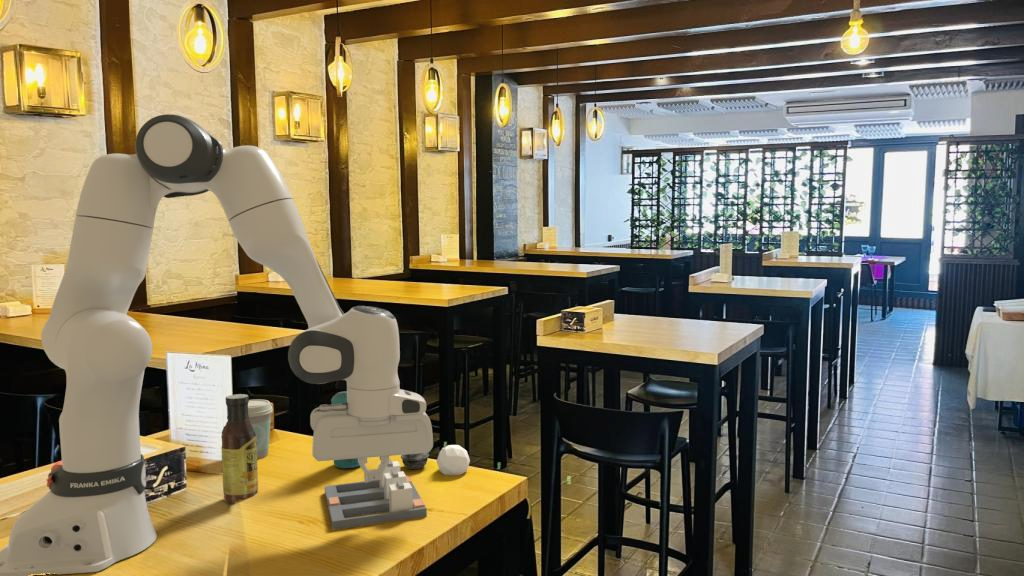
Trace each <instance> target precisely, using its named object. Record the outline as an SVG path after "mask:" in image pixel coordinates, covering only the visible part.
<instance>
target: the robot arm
mask: <svg viewBox="0 0 1024 576" xmlns="http://www.w3.org/2000/svg"><path fill="white" fill-rule="evenodd" d="M134 143H135V145H134V147H135V153H134V154H127V153H119V152H118V153H109V154H104V155H101V156H99V157H98V158H95V160H93V162H92V164H90V168H89V170H88V172H87V175H86V177H85V180H84V183H83V186H82V189H81V191H80V195H79V199H78V202H77V203H78V204H77V208H76V213H75V218H74V223H73V230H72V234H71V235H72V236H71V240H70V246H69V252H68V258H67V261H66V266H65V268H64V269H65V270H64V273H63V276H62V279H61V281H60V284H59V287H58V289H57V292H56V294H55V297H54V300H53V303H52V306H51V310H50V313H49V317H48V319H47V321H46V322H45V323H44V326H43V327H42V330H41V337H40V338H41V339H40V340H41V344H42V348H43V351H44V352H45V354H46V356H47V357H48V359H49V360H50V362H52V363H53V364H54V365H55V366H57V367H59V368H60V369H63V370H64V372H65V375H66V388H65V395H64V401H63V402H64V403H63V407H62V412H61V413H60V415H59V418H58V423H59V439H60V453H61V460H59V461H56V462H55V463H54V464H53V465H52V466H51V469H50V472H49V473H48V474H47V479H46V486H47V488H48V490H49V491H48V492H47V493H45V495H43V496H41V498H39V500H37V501H36V502H35V503H33V504H32V505H31V506H30V507H29V508H28V509H26V510H25V511H24V512H23V513H22V514H21V515H20V516H19V517H18V518H17V519H16V521H15V522H14V523H13V526H12V528H11V530H10V531H11V532H10V533H9V534H10V535H9V539H8V543H7V544H6V545H5V546H4V547H3V548H2V549H1V550H0V576H28V575H31V574H41V573H42V574H43V573H45V574H47V573H50V574H54V573H55V574H57V575H67V574H69V575H70V574H83V573H84V574H86V573H95V572H99V571H103V570H104V569H107V568H108V567H110V566H112V565H113V564H115V563H116V562H119V561H121V560H124V559H127V558H130V557H132V556H134V555H136V554H139V553H140V552H142V551H144V550H146V549H147V548H149V547H150V546H151V545H153V544H154V542H156V539H157V535H158V534H157V532H156V530H155V527H154V525H153V522H152V519H151V515H150V512H149V511H150V510H149V508H148V503H147V498H146V493H145V490H146V487H147V474H146V473H147V471H146V463H145V457H144V455H143V454H142V453H141V437H140V435H141V434H140V417H139V416H140V400H141V394H142V389H143V388H142V387H143V381H144V377H145V376H144V375H145V371H146V370H145V369H146V368H147V367H148V365H149V364H150V361H151V359H152V356H153V342H152V339H151V336H150V334H149V333H148V332H147V330H146V329H145V327H143V326H142V325H141V324H140V323H139V322H138V321H137V320H136V319H134V318H133V317H131V316H130V315H127V314H128V312H129V309H130V306H131V304H132V301H133V299H134V297H135V294H136V292H137V290H138V287H139V286H140V284H141V283H142V282H143V280H144V279H145V277H146V274H147V269H148V264H149V258H150V251H151V246H152V245H151V244H152V237H153V232H154V227H155V221H156V220H155V219H156V214H157V210H158V207H159V206H158V205H159V204H160V202H161V200H162V199H163V198H166V199H171V198H173V199H174V198H180V197H192V196H198V195H202V194H205V193H207V192H209V191H210V192H211V193H212V194H214V195H215V196H216V198H217V200H218V201H219V202H220V205H221V207H222V209H223V211H224V214H225V217H226V218H227V221H228V224H229V226H230V228H231V231H232V233H233V234H234V237H235V239H236V240H237V242H238V244H239V245H240V247H241V248H242V249H243V251H244V252H245V254H246V256H247V257H249V258H250V259H251V260H252V261H253V262H255V263H257V264H259V265H262V266H264V267H266V268H268V269H270V270H272V271H273V272H275V273H276V274H277V275H279V276H280V277H281V278H282V279H283V280H284V281H285V283H286V285H288V287H289V288H290V290H291V292H292V294H293V296H294V298H295V300H296V302H297V304H298V306H299V308H300V310H301V313H302V314H303V317H304V319H305V321H306V323H307V326H308V327H307V329H305V330H303V331H302V332H300V333H299V334H298V335H296V337H295V338H293V340H292V341H291V343H290V345H289V347H288V351H287V360H288V364H289V367H290V369H291V371H292V373H293V374H294V375H295V376H296V377H297V378H298V379H299V380H301V381H303V382H304V383H308V384H312V385H315V384H316V385H321V384H326V383H331V382H332V383H333V382H336V381H338V380H346V381H347V389H346V391H347V403H341V404H332V403H331V404H327V403H325V404H320V405H319V406H318V407H316V408H314V409H312V410H311V413H310V416H309V417H310V418H309V419H310V420H309V422H310V423H309V425H310V428H311V429H312V430H313V436H312V447H311V448H312V450H311V451H312V452H311V453H312V457H313V458H314V459H315V460H316V461H317V462H327V461H328V462H329V461H334V460H342V459H355V458H358V462H359V465H360V466H359V467H360V469H361V470H362V471H363V474H364V477H363V478H364V481H365V483H368V482H380V481H382V480H383V471H384V470H385V468H386V466H387V465H388V463H389V459H390V457H391V456H401V455H406V454H419V453H428V454H429V453H430V452H431V451H432V449H433V447H434V437H433V427H432V422H431V419H430V417H429V415H428V414H427V413H426V410H427V402H426V400H425V398H424V397H423V396H422V395H420V394H418V393H416V392H413V391H409V390H405V389H401V388H400V384H401V383H400V379H399V374H398V369H399V368H398V367H399V363H400V360H401V359H400V357H401V356H400V355H401V351H400V333H399V326H398V325H399V324H398V322H397V319H396V316H394V314H392V313H391V312H390V311H389V310H387V309H384V308H380V307H377V306H365V305H357V306H353V307H351V308H350V309H349V310H348V311H347V312H345V313H344V311H343V310H342V308H341V307H340V304H339V303H338V300H337V298H336V297H335V294H334V292H333V290H332V288H331V286H330V284H329V283H328V280H327V278H326V276H325V274H324V271H323V270H322V268H321V265H320V264H319V262H318V260H317V258H316V256H315V253H314V250H313V248H312V245H311V242H310V240H309V238H308V233H307V231H306V230H305V226H304V223H303V220H302V218H301V215H300V213H299V210H298V208H297V205H296V202H295V200H294V198H293V195H292V193H291V191H290V189H289V186H288V185H287V182H286V180H285V179H284V177H283V175H282V173H281V172H280V170H279V169H278V167H277V165H276V164H275V162H274V161H273V159H272V158H271V156H270V155H269V154H268V152H266V150H264V149H262V148H260V147H259V146H256V145H240V146H239V145H238V146H234V147H232V148H224V147H223V144H222V142H221V141H220V140H218V139H217V138H216V137H214V136H213V135H212V134H211V133H209V132H208V131H207V130H205V128H203V127H202V126H201V125H199V124H198V123H196V122H195V121H193V120H192V119H190V118H188V117H186V116H182V115H180V114H179V115H178V114H169V113H168V114H161V115H157V116H154V117H152V118H150V119H148V120H147V121H146V122H145V123H143V125H142V126H141V127H140V129H139V131H138V132H137V135H136V138H135V142H134ZM346 409H347V410H346ZM377 457H378V458H379V460H380V462H379V463H380V465H379V464H378V466H377V468H373V469H372V468H371V469H368V467H367V465H366V464H368V458H377ZM58 573H59V574H58Z"/></svg>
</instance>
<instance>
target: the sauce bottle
mask: <svg viewBox="0 0 1024 576" xmlns="http://www.w3.org/2000/svg"><path fill="white" fill-rule="evenodd" d="M249 400H250V399H249V395H248V394H245V393H243V394H242V393H238V394H237V393H236V394H231V395H227V396H226V397H225V404H226V413H227V414H226V415H227V416H226V419H227V421H226V423H225V425H224V426H223V428H222V431H221V447H220V448H221V449H220V450H221V467H222V489H223V490H222V493H223V500H224V501H225V502H226V504H227V503H228V504H232V505H234V504H235V503H236V500H237V501H240V500H241V501H242V500H246V499H249V498H252V497H254V496H256V495H257V494H258V491H259V473H258V472H259V471H258V459H257V441H256V434H255V431H254V429H253V427H252V424H251V422H250V420H249V415H248V402H249Z"/></svg>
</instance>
